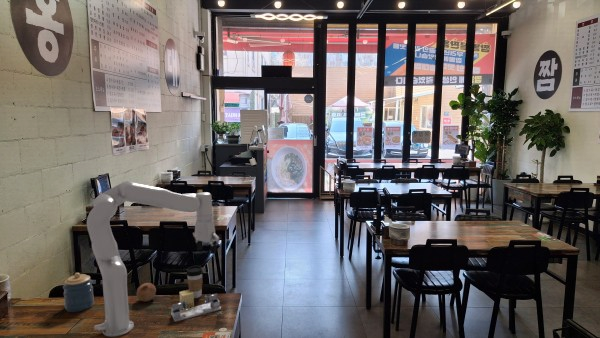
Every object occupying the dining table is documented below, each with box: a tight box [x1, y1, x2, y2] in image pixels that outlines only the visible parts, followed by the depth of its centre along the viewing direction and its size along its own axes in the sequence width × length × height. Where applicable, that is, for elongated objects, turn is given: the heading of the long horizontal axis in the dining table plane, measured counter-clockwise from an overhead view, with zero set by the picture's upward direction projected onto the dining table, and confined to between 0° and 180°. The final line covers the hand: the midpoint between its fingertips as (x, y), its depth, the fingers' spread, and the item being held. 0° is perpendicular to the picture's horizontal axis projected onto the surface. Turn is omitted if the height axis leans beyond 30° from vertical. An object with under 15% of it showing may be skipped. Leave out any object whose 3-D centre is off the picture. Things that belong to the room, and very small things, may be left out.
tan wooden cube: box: [179, 289, 195, 308], centre depth 195 cm, size 6×6×7 cm
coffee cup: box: [186, 265, 204, 299], centre depth 206 cm, size 8×8×15 cm
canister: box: [62, 272, 95, 313], centre depth 196 cm, size 13×13×18 cm
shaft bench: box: [170, 293, 222, 323], centre depth 189 cm, size 22×8×7 cm, turn 121°
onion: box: [136, 282, 157, 303], centre depth 202 cm, size 10×9×10 cm
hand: (206, 251), depth 194 cm, fingers open, 9 cm apart
